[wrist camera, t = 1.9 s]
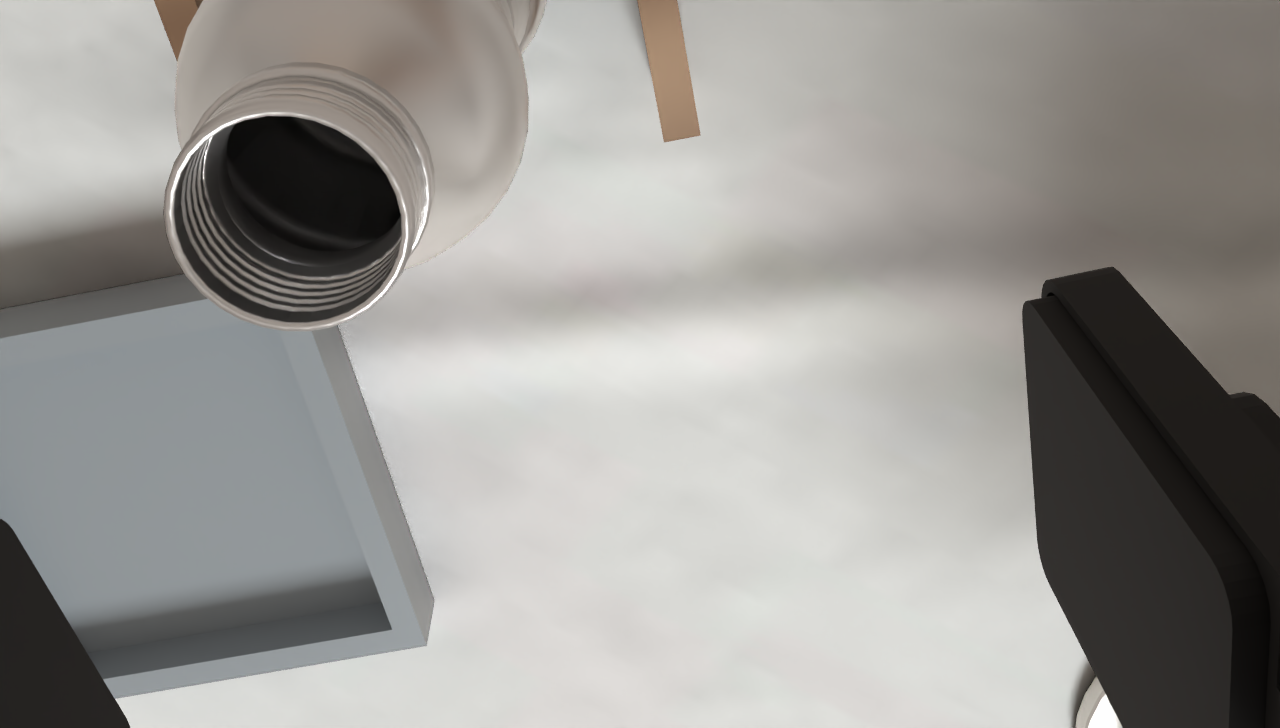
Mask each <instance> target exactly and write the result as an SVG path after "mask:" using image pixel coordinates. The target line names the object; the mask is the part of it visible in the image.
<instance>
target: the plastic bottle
mask: <svg viewBox="0 0 1280 728" xmlns="http://www.w3.org/2000/svg"><path fill="white" fill-rule="evenodd" d="M546 2H547V0H203V1H202V3H201V5H200V7H199V8H198V10H197V12H196V14H195V16H194V17H193V19H192V21H191V23H190V24H189V26H188V28H187V31H186V34H185V38H184V41H183V44H182V48H181V51H180V54H179V57H178V62H177V74H176V86H175V117H176V125H177V133H178V141H179V144H180V147H181V152H180V154H179V155H178V157H177V159H176V161H175V162H174V165H173V168H172V171H171V174H170V177H169V180H168V183H167V187H166V190H165V200H164V212H163V213H164V220H165V228H166V235H167V238H168V240H169V243H170V246H171V249H172V252H173V255H174V257H175V258H176V260H177V262H178V264H179V265H180V267H181V269H182V270H183V272H184V274H185V275H186V277H187V278H188V279H189V280H190V281H191V282H192V283H193V285H194V286H195V287H196V288H197V289H198V290H199V291H200V293H201V294H203V295H204V296H205V297H206V298H208V299H209V300H210V301H211V302H213V303H214V304H215V305H216V306H218V307H219V308H220V309H222V310H224V311H226V312H228V313H229V314H231V315H233V316H235V317H237V318H239V319H240V320H243V321H246V322H249V323H252V324H255V325H257V326H260V327H264V328H269V329H275V330H281V331H314V330H319V329H325V328H331V327H334V326H336V325H339V324H342V323H345V322H347V321H350V320H352V319H354V318H356V317H357V316H359V315H361V314H362V313H364V312H366V311H367V310H369V309H371V308H372V307H373V306H374V305H375V304H376V303H377V302H378V301H379V300H380V299H381V298H382V297H384V296H385V295H386V294H387V292H388V291H389V290H390V289H391V288H392V286H393V285H394V284H395V282H396V281H397V279H398V278H399V277H400V275H401V274H402V272H403V270H406V269H409V268H411V267H414V266H417V265H420V264H422V263H425V262H428V261H429V260H431V259H433V258H434V257H436V256H438V255H439V254H441V253H443V252H444V251H446V250H448V249H449V248H451V247H453V246H454V245H456V244H457V243H458V242H460V241H461V240H463V239H464V238H466V237H467V236H468V235H469V234H470V233H471V232H472V231H473V230H474V229H476V228H477V227H478V226H479V225H480V224H481V223H482V222H483V221H484V220H485V219H486V218H488V217H489V216H490V214H491V213H492V211H493V210H494V209H495V207H496V206H497V205H498V203H499V202H500V201H501V199H502V198H503V196H504V195H505V194H506V192H507V191H508V189H509V187H510V185H511V182H512V180H513V178H514V176H515V174H516V171H517V169H518V167H519V165H520V163H521V159H522V155H523V150H524V146H525V141H526V137H527V132H528V99H529V97H528V86H527V80H526V74H525V69H524V64H523V58H522V54H523V52H524V51H525V50H526V48H527V47H528V45H529V44H530V42H531V41H532V40H533V38H534V36H535V34H536V32H537V29H538V27H539V25H540V22H541V20H542V18H543V15H544V11H545V6H546Z"/></svg>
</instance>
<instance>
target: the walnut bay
mask: <svg viewBox="0 0 1280 728" xmlns="http://www.w3.org/2000/svg"><path fill="white" fill-rule="evenodd" d="M202 1H203V0H154V2H155V4H156V7H157V10H158V12H159V15H160V17H161V20H162V23H163V25H164V28H165V31H166V33H167V36H168V38H169V41H170V44H171V46H172V49H173V52H174V54H175V57H176V60H177V62H178V57H179V54H180V51H181V48H182V44H183V41H184V38H185V34H186V31H187V28H188V26H189V24H190V23H191V21H192V19H193V17H194V16H195V14H196V12H197V10H198V8H199V7H200V5H201V3H202ZM637 1H638V7H639V12H640V17H641V22H642V28H643V33H644V38H645V44H646V49H647V54H648V59H649V65H650V70H651V75H652V81H653V86H654V91H655V96H656V102H657V107H658V112H659V118H660V123H661V128H662V134H663V139H664V142H669V141H674V140H679V139H684V138H689V137H694V136H699V135H700V130H699V124H698V118H697V112H696V107H695V101H694V95H693V89H692V84H691V78H690V72H689V66H688V61H687V55H686V49H685V43H684V37H683V32H682V26H681V20H680V14H679V9H678V3H677V0H637Z"/></svg>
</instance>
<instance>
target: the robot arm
mask: <svg viewBox="0 0 1280 728" xmlns="http://www.w3.org/2000/svg"><path fill="white" fill-rule="evenodd" d="M1022 317H1023V335H1024V349H1025V364H1026V379H1027V394H1028V409H1029V424H1030V439H1031V454H1032V469H1033V484H1034V499H1035V514H1036V529H1037V542H1038V549H1039V554H1040V559H1041V562H1042V566H1043V569H1044V572H1045V575H1046V578H1047V580H1048V582H1049V584H1050V586H1051V588H1052V590H1053V592H1054V594H1055V596H1056V598H1057V600H1058V602H1059V604H1060V606H1061V608H1062V610H1063V612H1064V614H1065V616H1066V618H1067V620H1068V622H1069V624H1070V625H1071V627H1072V629H1073V631H1074V633H1075V635H1076V637H1077V639H1078V641H1079V643H1080V645H1081V647H1082V649H1083V651H1084V653H1085V655H1086V657H1087V659H1088V661H1089V663H1090V665H1091V667H1092V668H1093V670H1094V672H1095V674H1096V677H1095V679H1094V680H1093V682H1092V684H1091V685H1090V687H1089V688H1088V690H1087V692H1086V693H1085V695H1084V698H1083V701H1082V703H1081V706H1080V709H1079V711H1078V714H1077V720H1076V728H1280V418H1279V417H1278V416H1277V415H1276V414H1275V413H1274V411H1273V410H1272V409H1271V408H1270V407H1269V406H1268V405H1267V404H1266V403H1265V402H1263V401H1262V400H1261V399H1260V398H1258V397H1257V396H1256V395H1255V394H1250V393H1245V392H1242V393H1237V394H1232V395H1228V394H1227V392H1226V391H1225V390H1224V389H1223V388H1222V387H1221V386H1220V385H1219V383H1218V382H1217V381H1216V380H1215V379H1214V378H1213V377H1212V376H1211V374H1210V373H1209V372H1208V371H1207V370H1206V369H1205V368H1204V367H1203V365H1202V364H1201V363H1200V362H1199V361H1198V360H1197V359H1196V358H1195V356H1194V355H1193V354H1192V353H1191V352H1190V351H1189V350H1188V349H1187V347H1186V346H1185V345H1184V344H1183V343H1182V342H1181V341H1180V340H1179V338H1178V337H1177V336H1176V335H1175V334H1174V333H1173V332H1172V331H1171V329H1170V328H1169V327H1168V326H1167V325H1166V324H1165V323H1164V322H1163V320H1162V319H1161V318H1160V317H1159V316H1158V315H1157V314H1156V313H1155V311H1154V310H1153V309H1152V308H1151V307H1150V306H1149V305H1148V304H1147V302H1146V301H1145V300H1144V299H1143V298H1142V297H1141V296H1140V295H1139V293H1138V292H1137V291H1136V290H1135V289H1134V288H1133V287H1132V286H1131V284H1130V283H1129V282H1128V281H1127V280H1126V279H1125V278H1124V277H1123V275H1122V274H1121V273H1120V272H1119V271H1118V270H1116V269H1115V268H1114V267H1107V268H1102V269H1097V270H1093V271H1088V272H1083V273H1078V274H1074V275H1069V276H1064V277H1059V278H1055V279H1050V280H1046V281H1045V283H1044V284H1043V288H1042V298H1040V299H1035V300H1030V301H1026V302H1025V303H1024V305H1023V311H1022ZM0 728H130V725H129V723H128V721H127V719H126V717H125V715H124V713H123V712H122V710H121V709H120V707H119V705H118V704H117V702H116V700H115V699H114V697H113V695H112V694H111V692H110V690H109V689H108V687H107V685H106V684H105V682H104V680H103V679H102V677H101V675H100V674H99V672H98V670H97V669H96V667H95V665H94V664H93V662H92V660H91V659H90V657H89V655H88V654H87V652H86V650H85V649H84V647H83V645H82V644H81V642H80V640H79V639H78V637H77V635H76V634H75V632H74V630H73V629H72V627H71V625H70V624H69V622H68V620H67V619H66V617H65V615H64V614H63V612H62V610H61V609H60V607H59V605H58V604H57V602H56V600H55V599H54V597H53V595H52V594H51V592H50V590H49V589H48V587H47V585H46V584H45V582H44V580H43V579H42V577H41V575H40V574H39V572H38V570H37V569H36V567H35V565H34V564H33V562H32V560H31V559H30V557H29V555H28V554H27V552H26V550H25V549H24V547H23V545H22V544H21V542H20V540H19V539H18V537H17V535H16V534H15V532H14V531H13V529H12V528H11V527H10V525H9V524H8V523H7V522H5V521H4V520H2V519H0Z"/></svg>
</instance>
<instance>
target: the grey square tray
mask: <svg viewBox="0 0 1280 728" xmlns="http://www.w3.org/2000/svg"><path fill="white" fill-rule="evenodd" d="M0 519H2V520H4V521H5V522H7V523H8V524H9V525H10V527H11V528H12V529H13V531H14V532H15V534H16V535H17V537H18V539H19V540H20V542H21V544H22V545H23V547H24V549H25V550H26V552H27V554H28V555H29V557H30V559H31V560H32V562H33V564H34V565H35V567H36V569H37V570H38V572H39V574H40V575H41V577H42V579H43V580H44V582H45V584H46V585H47V587H48V589H49V590H50V592H51V594H52V595H53V597H54V599H55V600H56V602H57V604H58V605H59V607H60V609H61V610H62V612H63V614H64V615H65V617H66V619H67V620H68V622H69V624H70V625H71V627H72V629H73V630H74V632H75V634H76V635H77V637H78V639H79V640H80V642H81V644H82V645H83V647H84V649H85V650H86V652H87V654H88V655H89V657H90V659H91V660H92V662H93V664H94V665H95V667H96V669H97V670H98V672H99V674H100V675H101V677H102V679H103V680H104V682H105V684H106V685H107V687H108V689H109V690H110V692H111V694H112V695H113V697H114V699H116V698H122V697H128V696H134V695H140V694H146V693H151V692H157V691H163V690H169V689H175V688H181V687H187V686H193V685H199V684H204V683H210V682H216V681H222V680H228V679H234V678H240V677H246V676H252V675H257V674H263V673H269V672H275V671H281V670H287V669H293V668H299V667H305V666H310V665H316V664H322V663H328V662H334V661H340V660H346V659H352V658H358V657H363V656H369V655H375V654H381V653H387V652H393V651H399V650H405V649H411V648H416V647H422V646H427V641H428V635H429V629H430V624H431V618H432V612H433V607H434V598H433V596H432V593H431V590H430V587H429V584H428V581H427V579H426V576H425V573H424V570H423V567H422V564H421V562H420V559H419V556H418V553H417V550H416V547H415V545H414V542H413V539H412V536H411V533H410V530H409V528H408V525H407V522H406V519H405V516H404V513H403V511H402V508H401V505H400V502H399V499H398V496H397V494H396V491H395V488H394V485H393V482H392V479H391V477H390V474H389V471H388V468H387V465H386V462H385V460H384V457H383V454H382V451H381V448H380V445H379V443H378V440H377V437H376V434H375V431H374V428H373V426H372V423H371V420H370V417H369V414H368V411H367V409H366V406H365V403H364V400H363V397H362V394H361V392H360V389H359V386H358V383H357V380H356V377H355V375H354V372H353V369H352V366H351V363H350V360H349V358H348V355H347V352H346V349H345V346H344V343H343V341H342V338H341V335H340V332H339V329H338V326H337V325H336V326H334V327H331V328H325V329H319V330H314V331H281V330H275V329H269V328H264V327H260V326H257V325H255V324H252V323H249V322H246V321H243V320H240V319H239V318H237V317H235V316H233V315H231V314H229V313H228V312H226V311H224V310H222V309H220V308H219V307H218V306H216V305H215V304H214V303H213V302H211V301H210V300H209V299H208V298H206V297H205V296H204V295H203V294H201V293H200V291H199V290H198V289H197V288H196V287H195V286H194V285H193V283H192V282H191V281H190V280H189V279H188V278H187V277H186V275H185V274H181V275H176V276H171V277H166V278H160V279H155V280H150V281H145V282H140V283H134V284H129V285H124V286H119V287H114V288H108V289H103V290H98V291H93V292H88V293H82V294H77V295H72V296H67V297H62V298H56V299H51V300H46V301H41V302H36V303H30V304H25V305H20V306H15V307H10V308H4V309H0Z"/></svg>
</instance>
